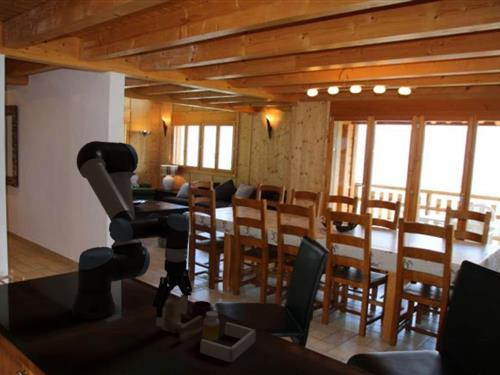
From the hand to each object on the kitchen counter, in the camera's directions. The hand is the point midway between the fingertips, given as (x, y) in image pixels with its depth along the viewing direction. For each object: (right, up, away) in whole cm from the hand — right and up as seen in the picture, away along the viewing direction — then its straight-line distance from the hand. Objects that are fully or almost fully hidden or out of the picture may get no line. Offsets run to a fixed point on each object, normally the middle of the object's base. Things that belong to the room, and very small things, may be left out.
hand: (172, 319), depth 150 cm
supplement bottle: (+14, -6, -6) cm, 16 cm away
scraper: (+2, -4, -1) cm, 5 cm away
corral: (+20, -6, -9) cm, 22 cm away
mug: (+7, -4, +10) cm, 13 cm away
